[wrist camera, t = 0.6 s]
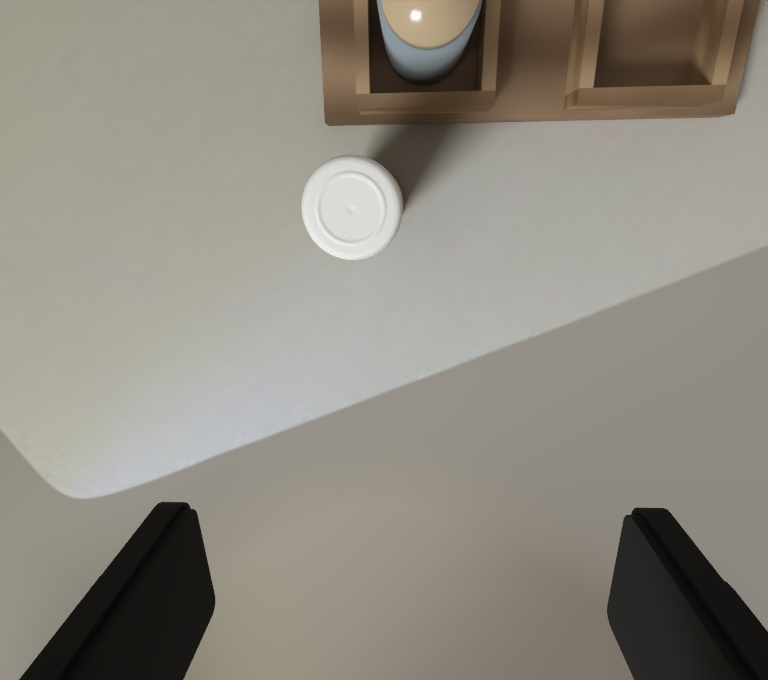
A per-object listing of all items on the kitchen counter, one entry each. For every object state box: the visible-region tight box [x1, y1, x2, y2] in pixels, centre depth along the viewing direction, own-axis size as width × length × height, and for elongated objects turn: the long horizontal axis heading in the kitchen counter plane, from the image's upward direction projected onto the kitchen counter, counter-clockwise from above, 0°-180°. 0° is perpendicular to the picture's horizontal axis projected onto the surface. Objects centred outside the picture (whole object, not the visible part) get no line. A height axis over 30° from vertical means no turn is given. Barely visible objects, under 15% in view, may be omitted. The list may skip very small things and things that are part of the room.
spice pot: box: [377, 0, 482, 86], centre depth 24 cm, size 5×5×8 cm
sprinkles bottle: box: [302, 155, 404, 260], centre depth 26 cm, size 5×5×13 cm
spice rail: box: [319, 0, 760, 126], centre depth 27 cm, size 9×26×4 cm, turn 91°
